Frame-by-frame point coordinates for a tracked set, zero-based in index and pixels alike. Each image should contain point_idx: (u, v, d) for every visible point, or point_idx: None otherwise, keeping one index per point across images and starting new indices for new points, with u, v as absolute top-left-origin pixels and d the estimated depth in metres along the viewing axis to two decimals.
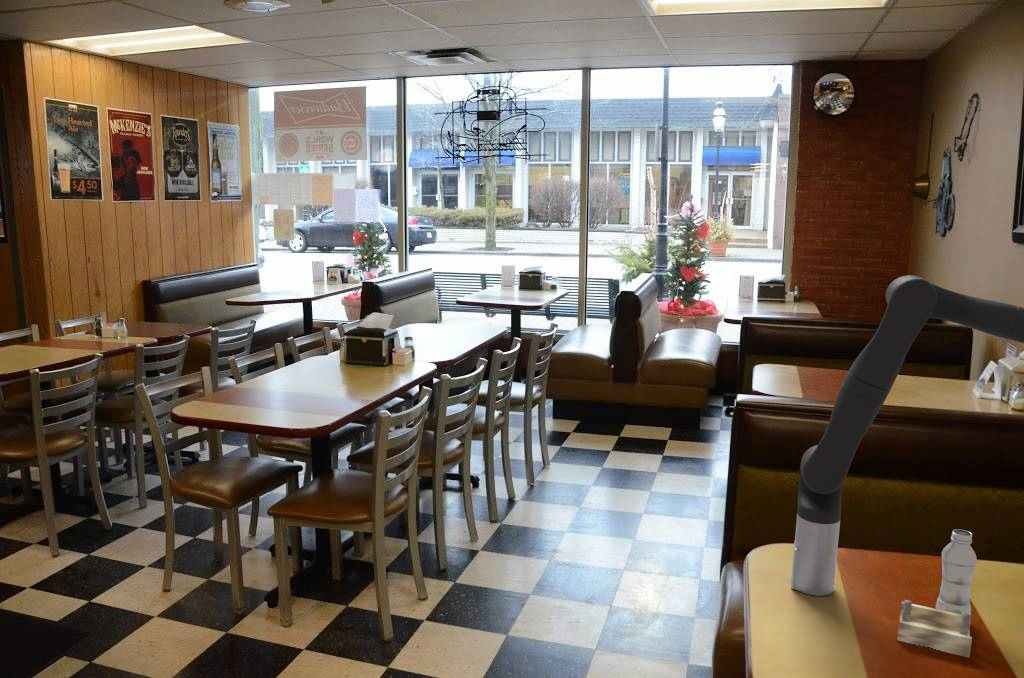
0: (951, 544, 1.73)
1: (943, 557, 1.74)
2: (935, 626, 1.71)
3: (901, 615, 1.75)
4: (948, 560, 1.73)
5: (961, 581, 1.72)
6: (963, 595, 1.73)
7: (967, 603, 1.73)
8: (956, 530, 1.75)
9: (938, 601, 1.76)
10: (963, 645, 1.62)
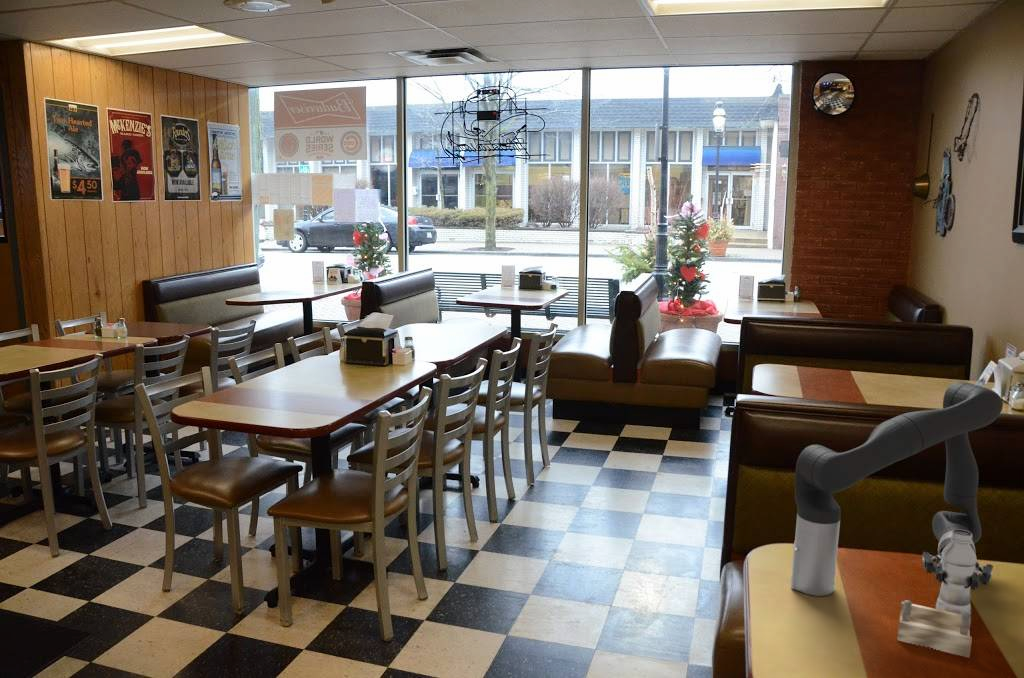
0: (951, 544, 1.73)
1: (943, 557, 1.74)
2: (935, 626, 1.71)
3: (901, 615, 1.75)
4: (948, 560, 1.73)
5: (961, 581, 1.72)
6: (963, 595, 1.73)
7: (967, 603, 1.73)
8: (956, 530, 1.75)
9: (938, 601, 1.76)
10: (963, 645, 1.62)
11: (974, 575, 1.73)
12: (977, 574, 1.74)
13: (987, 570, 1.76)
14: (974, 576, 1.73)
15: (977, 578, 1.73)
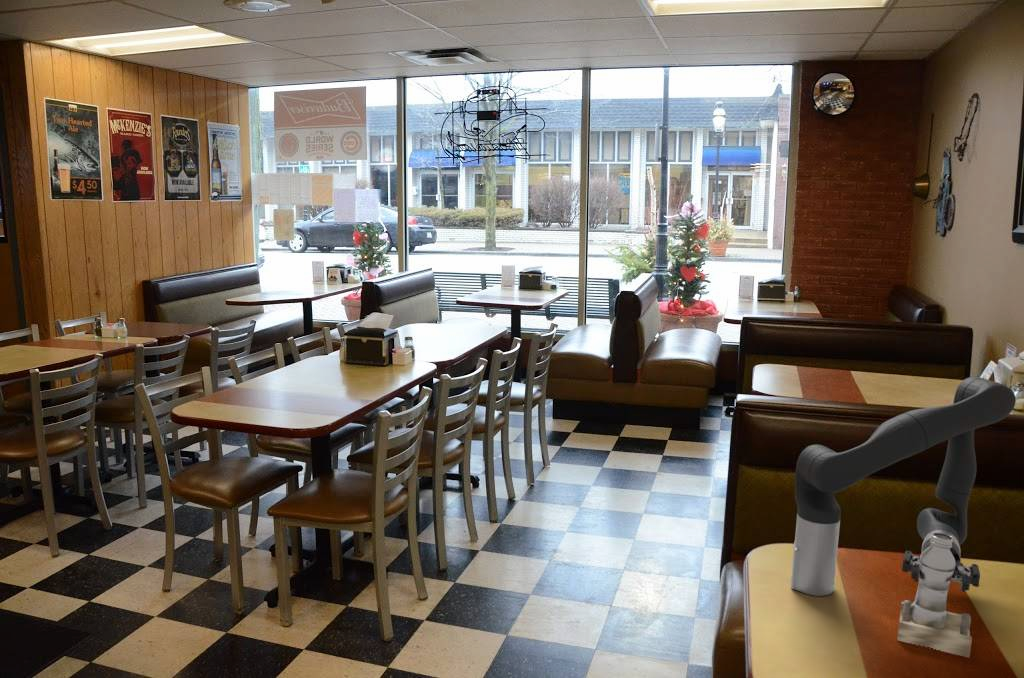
0: (930, 548, 1.67)
1: (921, 561, 1.68)
2: None
3: (901, 615, 1.75)
4: (927, 564, 1.66)
5: (939, 587, 1.66)
6: (940, 601, 1.67)
7: (943, 609, 1.67)
8: (936, 533, 1.68)
9: (913, 606, 1.70)
10: (963, 645, 1.62)
11: (965, 576, 1.66)
12: (968, 576, 1.67)
13: (976, 570, 1.68)
14: (964, 578, 1.65)
15: (968, 580, 1.65)
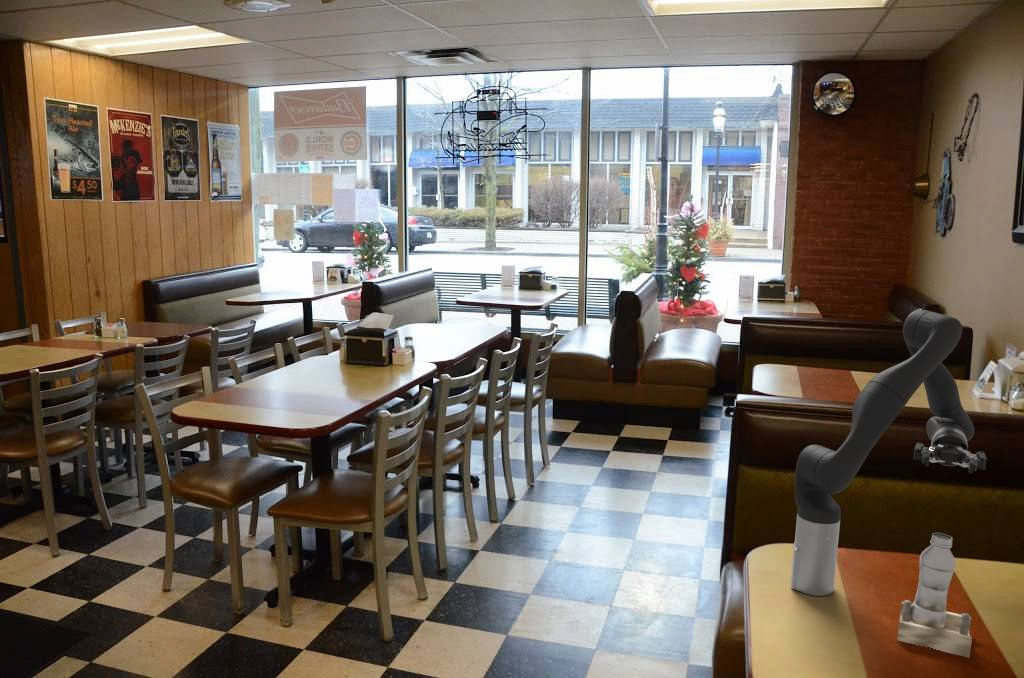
0: (930, 548, 1.67)
1: (921, 561, 1.68)
2: None
3: (901, 615, 1.75)
4: (927, 564, 1.66)
5: (939, 587, 1.66)
6: (940, 601, 1.67)
7: (943, 609, 1.67)
8: (936, 533, 1.68)
9: (913, 606, 1.70)
10: (963, 645, 1.62)
11: (972, 459, 1.79)
12: (975, 459, 1.80)
13: (982, 455, 1.82)
14: (972, 460, 1.79)
15: (975, 462, 1.79)
